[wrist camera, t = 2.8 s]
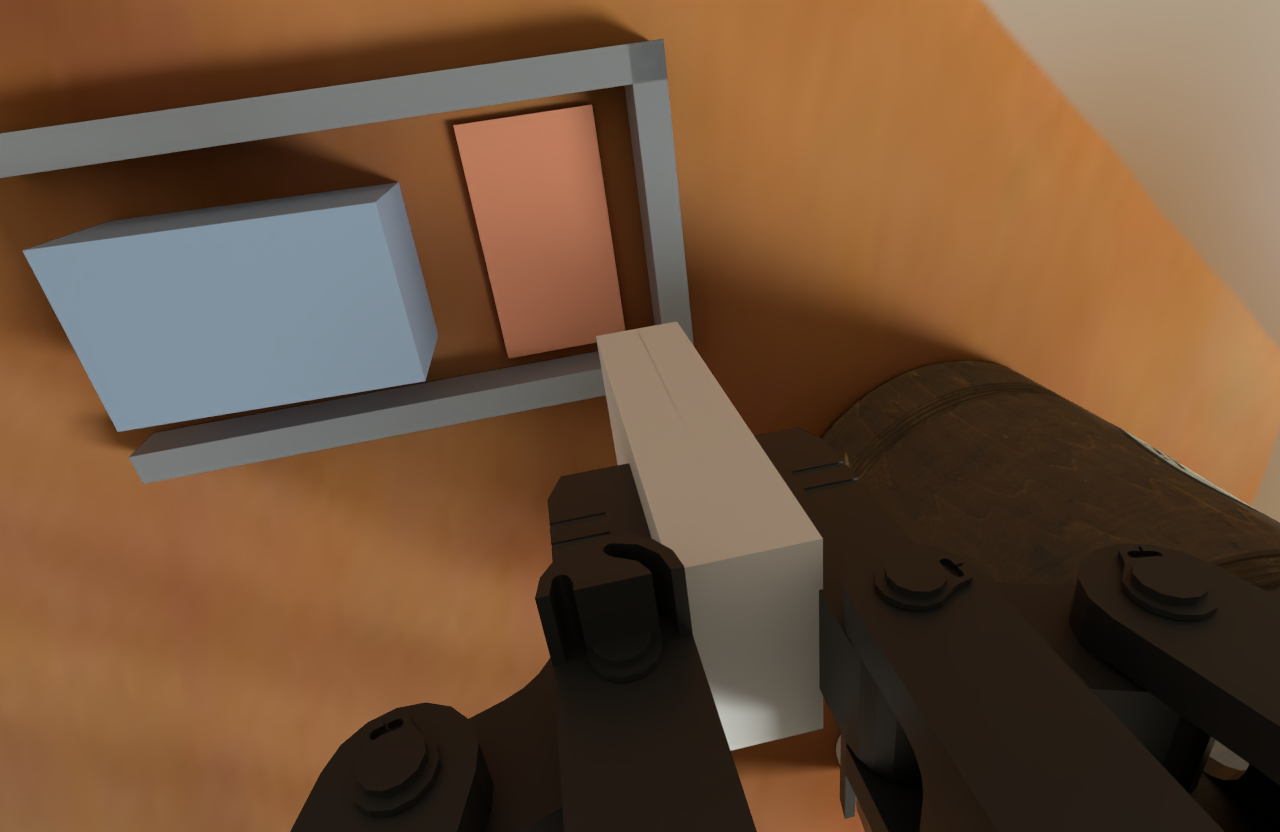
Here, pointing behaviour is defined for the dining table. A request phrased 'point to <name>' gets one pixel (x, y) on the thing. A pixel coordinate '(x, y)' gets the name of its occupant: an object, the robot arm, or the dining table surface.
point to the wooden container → (1037, 482)
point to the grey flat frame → (506, 220)
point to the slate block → (243, 304)
